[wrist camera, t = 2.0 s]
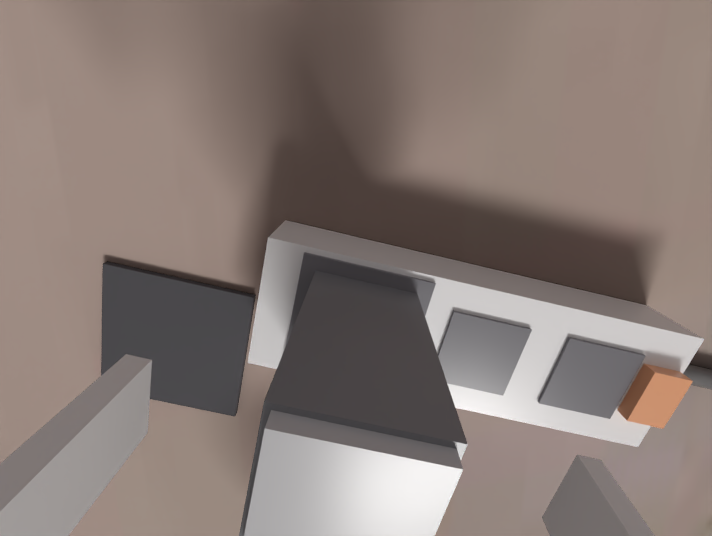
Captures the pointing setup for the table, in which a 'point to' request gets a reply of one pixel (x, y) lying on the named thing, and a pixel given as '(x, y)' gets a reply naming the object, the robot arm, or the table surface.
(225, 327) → the mat
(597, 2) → the table surface
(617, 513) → the robot arm
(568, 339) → the power strip
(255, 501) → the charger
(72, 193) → the table surface
